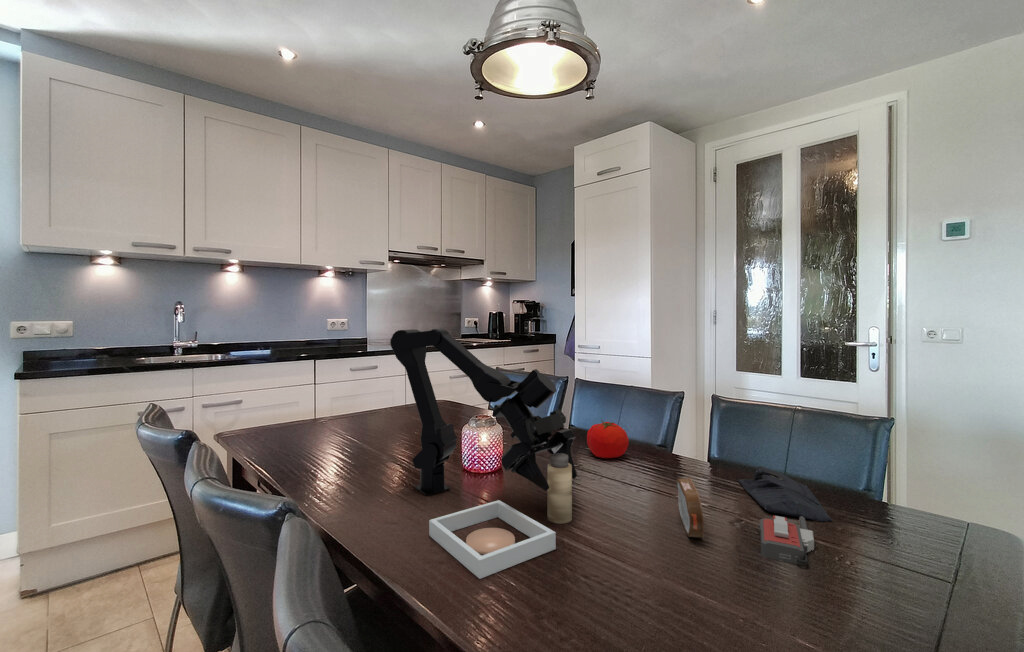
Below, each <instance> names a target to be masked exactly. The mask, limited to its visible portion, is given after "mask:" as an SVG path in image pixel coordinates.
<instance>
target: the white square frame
mask: <svg viewBox="0 0 1024 652" xmlns="http://www.w3.org/2000/svg"><path fill="white" fill-rule="evenodd" d="M496 518H499V519H500V520H502V521H503V522H504V523H506V524H508V525H510V526H511V527H513V528H515V529H516V530H517V531H519V532H521V533H523V534H524V535H526V536H527V537H529V538H527V539H524V540H522V541H519V542H516V537H515V535H514V533H512V532H511V531H509V530H507V529H505V528H499V527H485V528H484V527H483V528H479V529H476V530H474V531H472V532H470V533H469V534H468V535H467V536H466V540H465V541H463V540H462V539H461V538H459V537H458V536H457V535H455V534H454V533H453V532H454V531H458V530H460V529H461V530H462V529H464V528H467V527H471V526H473V525H477V524H481V523H484V522H486V521H489V520H493V519H496ZM428 521H429V522H428V525H429V526H428V527H429V528H428V530H429V531H428V532H429V534H428V535H429V537H430V538H431V539H432V540H434V541H435V542H436V543H437V544H438V545H439V546H441V548H443V549H444V550H446V551H447V552H448V553H449V554H450V555H451V556H453V557H454V559H456V560H457V561H458V562H459V563H460V564H462V565H463V566H464V567H465V568H466V569H467V570H469V572H471V573H472V574H473V575H474V576H475V577H477V578H478V579H479V580H481V579H483V578H486V577H488V576H491V575H493V574H496V573H499V572H501V571H503V570H506V569H508V568H511V567H514V566H516V565H519V564H521V563H523V562H526V561H529V560H532V559H533V558H537V557H539V556H541V555H544V554H547V553H549V552H552V551H554V550H556V549H557V547H556V537H557V533H556V531H554V530H552V529H551V528H549V527H547V526H545V525H544V524H542V523H540V522H538V521H537V520H534V519H533V518H531V517H529V516H528V515H525V514H524V513H522V512H520V511H518V510H517V509H515V508H514V507H512V506H510V505H508V504H507V503H505V502H503V501H501V500H499V499H497V500H495V501H491V502H488V503H484V504H480V505H478V506H477V505H476V506H473V507H470V508H467V509H462V510H460V511H456V512H452V513H449V514H446V515H443V516H438V517H436V518H432V519H429V520H428Z"/></svg>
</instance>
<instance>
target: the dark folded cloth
mask: <svg viewBox="0 0 1024 652" xmlns="http://www.w3.org/2000/svg"><path fill="white" fill-rule="evenodd" d="M738 483H739V484H740V485H741V486H742V487H743V488H744V490H745V492H746V493H747V494H749V495H750V496H751V497H752V498H753V499H754V500H755V502H756V503H758V504H759V505H760V506H761V508H763V510H765V511H766V512H769V513H771V514H778V515H784V514H785V515H786V516H791V517H796V518H799V517H800V516H803V517H804V518H805V520H806V519H807V520H810V521H815V522H820V523H822V522H824V523H825V522H826V523H827V522H830V523H833V522H834V521H833V519H832V517H830V516H829V514H828V513H827V511H826V510H825V508H824V507H823V505H822V504H821V502H820V501H819V500H818V498H817V497H816V496H815V494H814V493H813V492H812V491H811V490H810V488H809V487H808V486H807V485H806V484H803V483H801V482H798V481H796V480H794V479H792V478H790V477H789V476H787V475H785V474H784V473H781V472H778V471H775V470H773V469H769V468H766V467H764V466H761V465H760V466H757V468H756V471H755V472H754V474H753V478H746V479H745V478H743V479H742V478H741V479H738Z"/></svg>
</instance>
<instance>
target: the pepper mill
mask: <svg viewBox="0 0 1024 652" xmlns="http://www.w3.org/2000/svg"><path fill="white" fill-rule="evenodd" d="M546 468H547V470H546V471H547V474H546V475H547V480H546V481H547V483H548V485H549V489H548V490H546V493H547V495H546V497H547V504H546V505H547V511H546V512H547V518H546V519H547V520H548V522H550V523H552V524H553V523H554V524H557V525H558V524H559V525H563V524H568V523H571V521H572V520H573V484H572V483H573V478H572V465H571V464H570V463H568V455H567V454H564V453H554V454H551V453H550V462H549V463H547V465H546Z"/></svg>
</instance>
